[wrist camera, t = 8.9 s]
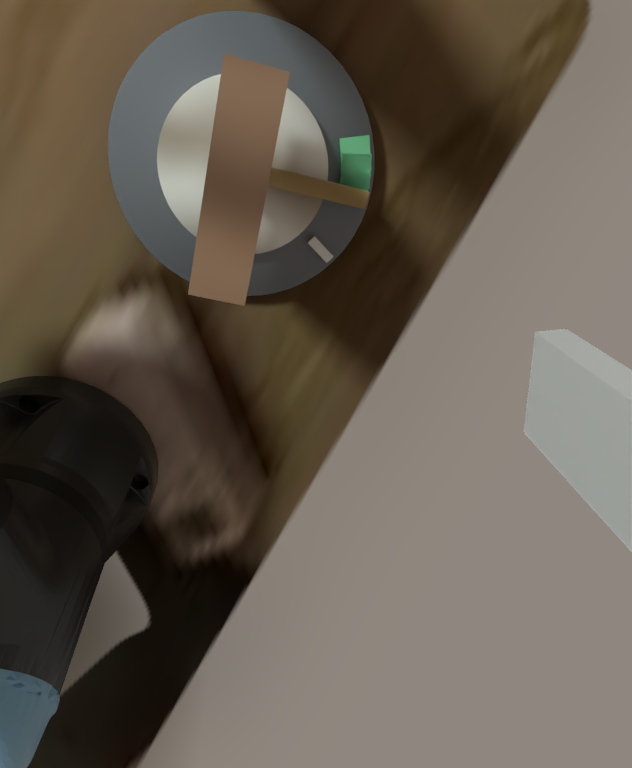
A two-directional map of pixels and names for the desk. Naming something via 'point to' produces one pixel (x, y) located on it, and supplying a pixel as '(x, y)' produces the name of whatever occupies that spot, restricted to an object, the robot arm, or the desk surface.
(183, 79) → the plate
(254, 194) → the dial
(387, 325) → the desk surface
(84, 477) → the robot arm
